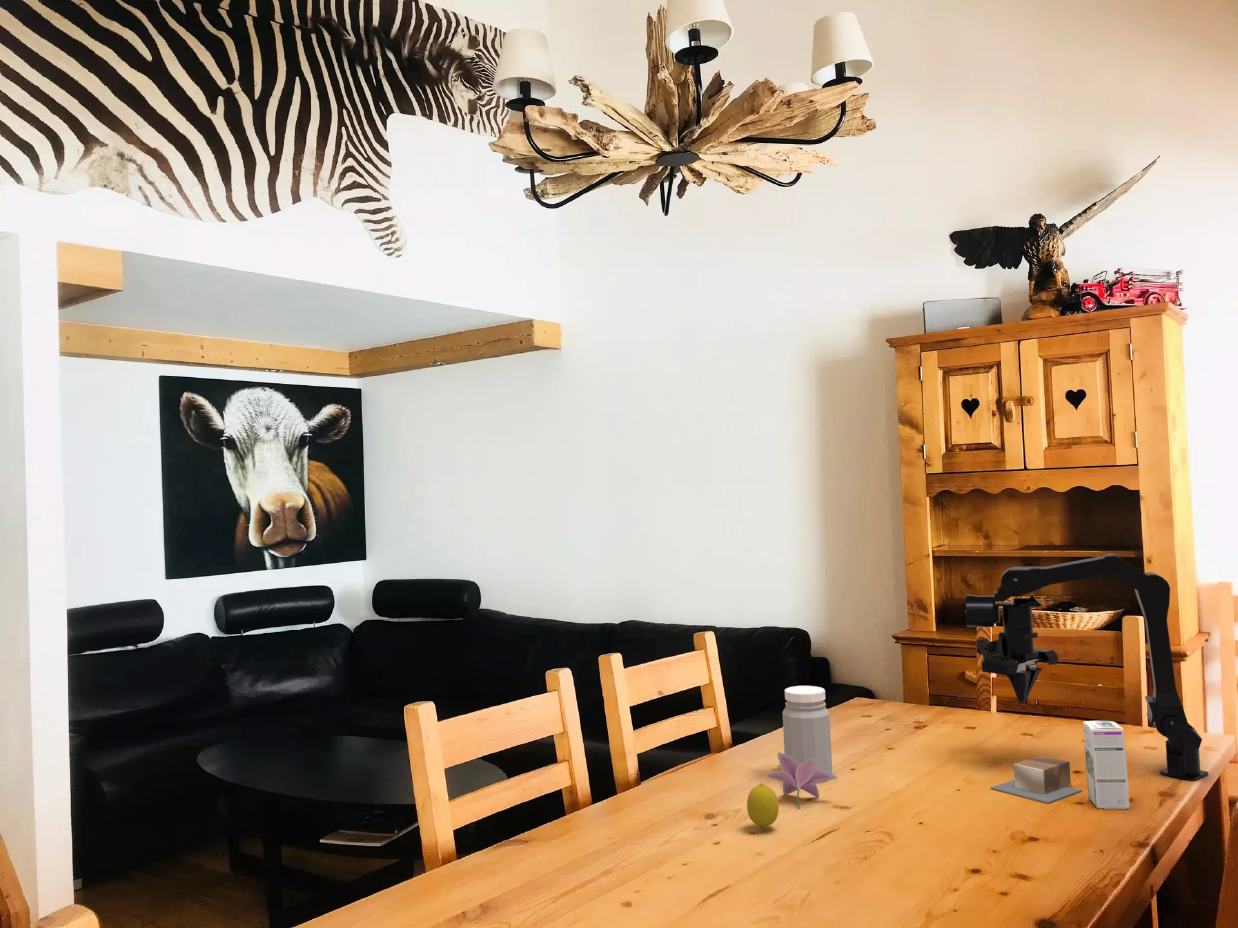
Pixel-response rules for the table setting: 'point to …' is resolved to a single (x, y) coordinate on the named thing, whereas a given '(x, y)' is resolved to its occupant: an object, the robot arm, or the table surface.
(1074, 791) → the rubber mat
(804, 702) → the jar
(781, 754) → the lily
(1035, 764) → the walnut block
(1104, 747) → the syrup box
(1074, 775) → the table surface
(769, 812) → the lemon
